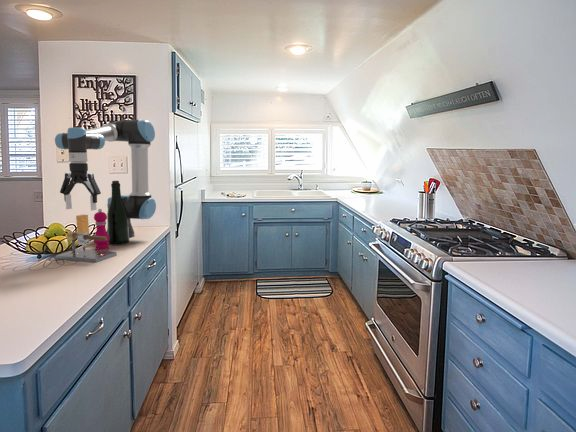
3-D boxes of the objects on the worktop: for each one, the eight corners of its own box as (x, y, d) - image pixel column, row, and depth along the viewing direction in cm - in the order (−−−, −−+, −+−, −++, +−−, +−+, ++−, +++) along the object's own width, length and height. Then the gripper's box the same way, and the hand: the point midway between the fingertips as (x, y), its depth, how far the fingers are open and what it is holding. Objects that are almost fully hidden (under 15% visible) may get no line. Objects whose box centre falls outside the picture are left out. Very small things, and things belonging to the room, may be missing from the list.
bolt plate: (77, 251, 223) (77, 248, 223) (116, 255, 216) (116, 251, 216) (55, 258, 210) (55, 255, 209) (96, 262, 203) (95, 258, 203)
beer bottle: (125, 245, 238) (121, 181, 233) (104, 245, 238) (101, 181, 233) (132, 241, 248) (129, 179, 243) (113, 241, 248) (109, 179, 243)
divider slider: (84, 250, 215) (82, 214, 213) (90, 251, 214) (87, 214, 212) (78, 252, 212) (76, 215, 209) (84, 253, 211) (81, 216, 208)
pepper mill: (106, 250, 227) (104, 209, 224) (91, 250, 227) (89, 209, 224) (112, 246, 234) (110, 207, 231) (98, 246, 234) (95, 207, 231)
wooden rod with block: (73, 251, 217) (72, 231, 216) (109, 254, 211) (108, 234, 210) (67, 253, 213) (65, 233, 212) (103, 256, 208) (102, 235, 206)
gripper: (49, 162, 207) (52, 209, 210) (95, 163, 200) (98, 211, 203) (62, 162, 214) (65, 207, 217) (107, 162, 207) (109, 209, 210)
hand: (81, 209), depth 210 cm, fingers open, 13 cm apart
